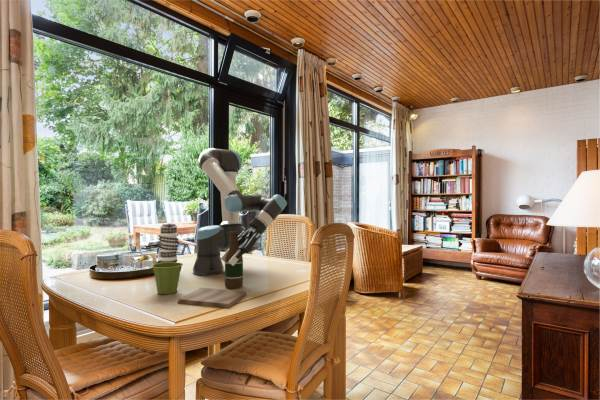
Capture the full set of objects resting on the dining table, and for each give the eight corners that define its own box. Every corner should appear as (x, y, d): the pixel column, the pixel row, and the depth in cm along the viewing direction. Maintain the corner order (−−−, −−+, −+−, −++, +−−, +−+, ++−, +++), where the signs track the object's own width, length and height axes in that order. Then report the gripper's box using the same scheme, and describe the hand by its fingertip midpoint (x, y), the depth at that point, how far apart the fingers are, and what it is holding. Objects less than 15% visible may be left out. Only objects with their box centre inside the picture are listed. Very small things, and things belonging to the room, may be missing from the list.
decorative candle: (157, 272, 171) (158, 223, 171) (177, 271, 175) (177, 222, 175) (158, 276, 163) (159, 224, 162) (179, 275, 167) (179, 224, 166)
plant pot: (189, 291, 139) (189, 263, 139) (164, 298, 129) (164, 268, 129) (169, 287, 145) (170, 260, 145) (144, 293, 135) (145, 265, 135)
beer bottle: (240, 289, 142) (241, 232, 142) (222, 289, 143) (222, 232, 142) (244, 284, 150) (244, 230, 150) (226, 284, 150) (227, 230, 150)
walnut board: (177, 303, 124) (177, 299, 124) (200, 291, 139) (200, 287, 139) (228, 308, 119) (228, 303, 119) (246, 295, 134) (246, 291, 134)
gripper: (277, 230, 146) (242, 272, 137) (255, 226, 163) (223, 263, 155) (266, 218, 143) (230, 260, 134) (245, 215, 160) (212, 252, 152)
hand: (226, 261), depth 144 cm, fingers open, 8 cm apart
